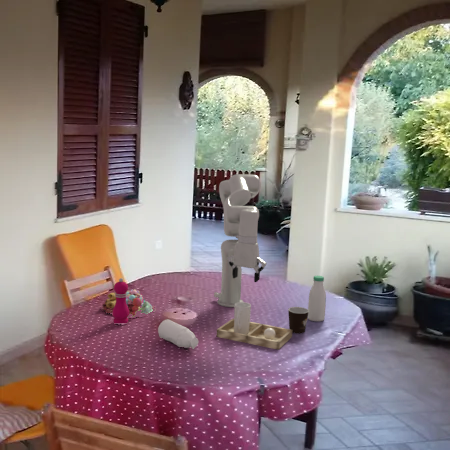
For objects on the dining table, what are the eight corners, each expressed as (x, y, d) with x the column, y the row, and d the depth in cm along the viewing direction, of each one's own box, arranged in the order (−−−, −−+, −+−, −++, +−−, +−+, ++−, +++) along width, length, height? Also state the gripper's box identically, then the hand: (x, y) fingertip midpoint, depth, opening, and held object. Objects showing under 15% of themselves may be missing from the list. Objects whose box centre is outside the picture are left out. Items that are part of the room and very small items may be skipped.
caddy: (216, 338, 241) (216, 329, 240) (232, 326, 255) (233, 318, 254) (278, 351, 230) (279, 342, 229) (292, 338, 244) (292, 329, 243)
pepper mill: (132, 322, 256) (133, 277, 253) (122, 327, 250) (123, 281, 246) (118, 319, 259) (118, 275, 256) (108, 324, 253) (109, 278, 249)
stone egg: (261, 340, 238) (262, 329, 237) (265, 336, 243) (266, 325, 242) (272, 342, 236) (273, 331, 235) (276, 338, 241) (277, 327, 240)
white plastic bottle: (186, 355, 223) (186, 335, 221) (157, 340, 237) (157, 321, 235) (202, 350, 228) (203, 331, 227) (173, 335, 242) (173, 317, 240)
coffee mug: (294, 337, 245) (295, 314, 243) (283, 330, 253) (284, 308, 251) (317, 333, 251) (318, 311, 249) (305, 327, 258) (306, 305, 256)
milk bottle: (324, 322, 265) (327, 279, 261) (306, 320, 266) (309, 278, 263) (324, 317, 272) (327, 275, 268) (308, 315, 274) (310, 273, 270)
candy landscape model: (92, 313, 266) (92, 293, 265) (118, 299, 288) (118, 280, 287) (142, 321, 258) (142, 301, 257) (164, 306, 280) (165, 287, 279)
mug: (236, 328, 251) (237, 301, 249) (251, 330, 249) (252, 303, 246) (228, 336, 242) (229, 308, 239) (243, 338, 239) (245, 310, 237)
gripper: (224, 238, 242) (223, 278, 246) (263, 244, 235) (261, 285, 238) (232, 235, 249) (230, 274, 252) (270, 240, 242) (268, 280, 245)
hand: (245, 279), depth 245 cm, fingers open, 9 cm apart
